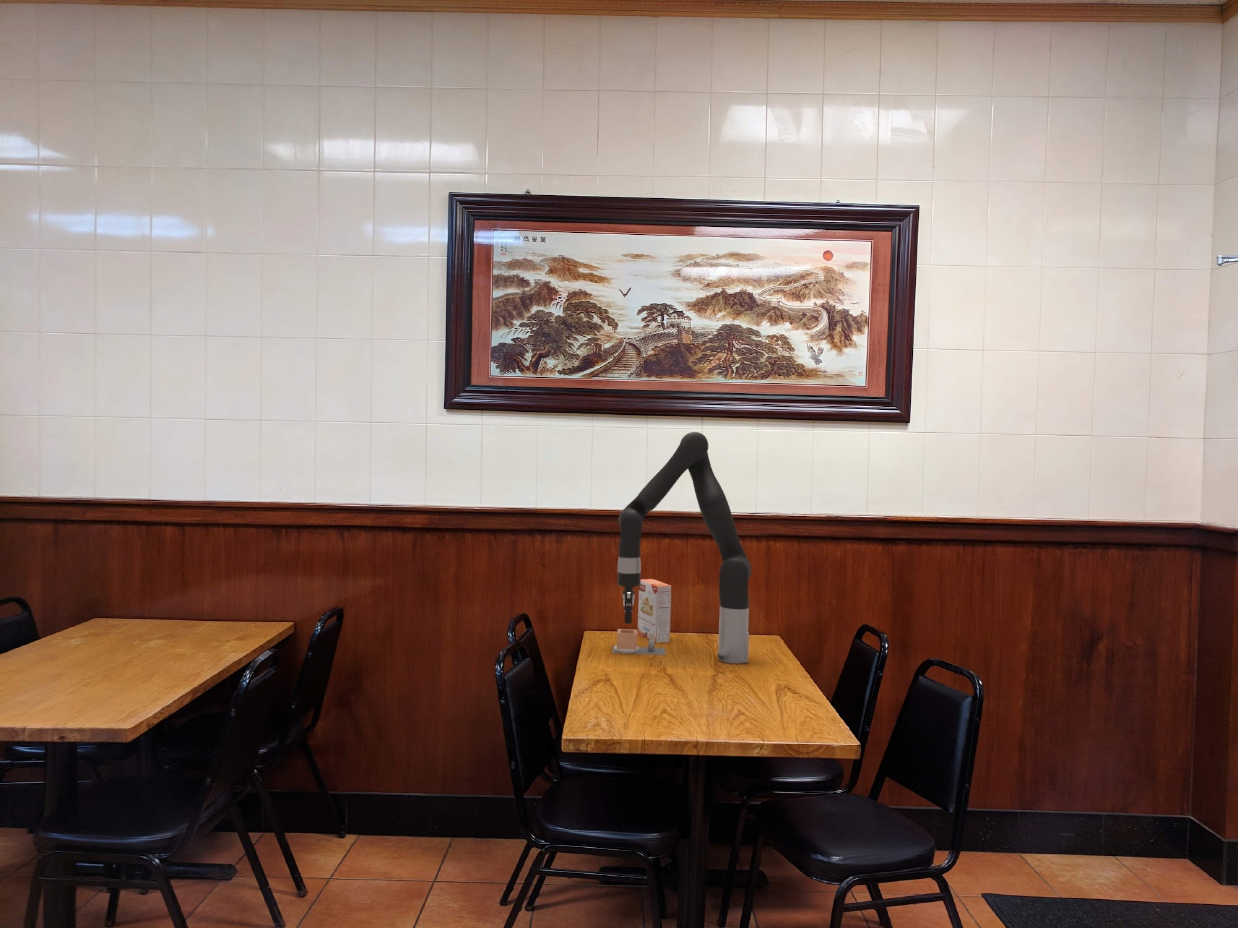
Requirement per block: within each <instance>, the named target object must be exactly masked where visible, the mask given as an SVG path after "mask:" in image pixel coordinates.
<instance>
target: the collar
mask: <svg viewBox="0 0 1238 928" xmlns="http://www.w3.org/2000/svg"><path fill="white" fill-rule="evenodd" d="M616 645H617V649H632V650H637V646H638V629H630V628H629V629H628V628H626V629H625V628H617V632H616Z"/></svg>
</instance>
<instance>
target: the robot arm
mask: <svg viewBox="0 0 1238 928" xmlns="http://www.w3.org/2000/svg"><path fill="white" fill-rule="evenodd" d="M708 451H709V441H708V439H707V437H706V436H705V434H703V433H701V432H697V431H690V432H688V433H686V434H685V435H683V437H681V440H680V443H679V444H678V447H677V448H676V449H675V452H674V453H673V454H672V455H671V457H670V458H669V460H668V461H667V462H666V463H665V464H664V465H663V467H662V468H661V469H660V470H659V471H658V472H657V473H656V474H655V475H654V476H653V477H652V478H651V479H650V480H649V481H648V482H647V484H646V485H644V487H643V488H642V489H641V490H640V492H639V493H638V494H637V496H636V497H635V498H634V499H632V501H631V502H629V503H628V504H627V506H625V508H623V509H622V511H621V512H620V513H619V515H618V523H619V525H620V540H619V543H618V560H617V577H616V578H617V581H616V582H617V586H619V587H624V590H622V598H623V600H622V604H623V607H624V609H623V610H624V624H625V625H628V624H629V625H631V624H632V621H633V617H632V615H633V610H634V609H633V606H634V605H635V597H636V592H635V590H633V589H634V587H639V586H640V584H641V576H642V574H641V572H642V569H641V568H642V562H641V540H642V539H641V537H642V529H643V520H644V518H646V516H647V515H648V514H649V512H652V511H653V510H654V509H655V508H657V506H658V505H659V504H660V503H661V502H662V501H663V499H664V498H665V497H666V496H667V495H668V493H669V492H670V491H671V489H672V488H673V486H675V484H676V483H677V481H678V480H679V479H680V478H681V476H682V475H684V473H685V472H686V471H687V470H688V472H689V475H690V478H691V481H692V485H693V489H694V494H695V497H696V501H697V505H698V506H699V511H700V513H701V516H702V520H703V521H704V524H705V526H706V528H707V529H708V531H709V533H710V535H711V536H712V537H713V539H714V541H715V543H716V545H717V547H718V550H719V553H720V558H721V562H722V564H721V565H720V568H719V574H718V575H719V576H718V577H719V578H718V597H719V621H718V622H719V623H718V645H717V647H718V649H717V660H718V661H719V662H723V663H726V664H727V663H728V664H744V663H745V664H747V663H749V649H750V648H749V647H750V646H749V645H750V644H749V642H750V640H749V639H750V632H749V619H750V618H749V617H750V616H749V612H750V610H749V609H750V598H749V579H750V577H751V575H752V565H751V562H750V561H749V558H748V557H747V555H746V552H745V550H744V548H743V546H742V543H741V541H740V539H739V536H738V531H737V527H736V525H735V520H734V518H733V517H734V516H733V515H732V512H731V511H732V510H731V508H730V505H729V501H728V499H727V497H726V494H725V492H724V490H723V488H722V486H721V484H720V481H718V479H717V477H716V476H715V473H714V471H713V468H712V465H711V461H710V457H709V454H708Z"/></svg>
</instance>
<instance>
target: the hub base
mask: <svg viewBox="0 0 1238 928" xmlns="http://www.w3.org/2000/svg"><path fill="white" fill-rule="evenodd" d="M655 644H656V643H655V640H653V639H650V640H649V639H648V644H647V645H648V646H647V647H646V646H645V647H644V646H639V645H637V650H632V649H617V644H615V645H613V646H612V654H626V655H627V654H629V655H651V656H652V655H655V656H666V655H667V654H666V647H655Z"/></svg>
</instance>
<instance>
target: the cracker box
mask: <svg viewBox="0 0 1238 928" xmlns="http://www.w3.org/2000/svg"><path fill="white" fill-rule="evenodd" d="M671 608H672V585H670V584H667V583H665V582H663V581H660V580H657V579H654V578H647V579H646V578H642V579H641V584H640V586H638V608H637V610H638V612H637V637H639V638H640V637H642V638H645V639H647V640H648V641H649V640H650V639H653V640H655V644H656V643H658V644H659V643H669V642H671V619H672V618H671V613H672V612H671V611H672V609H671Z"/></svg>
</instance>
